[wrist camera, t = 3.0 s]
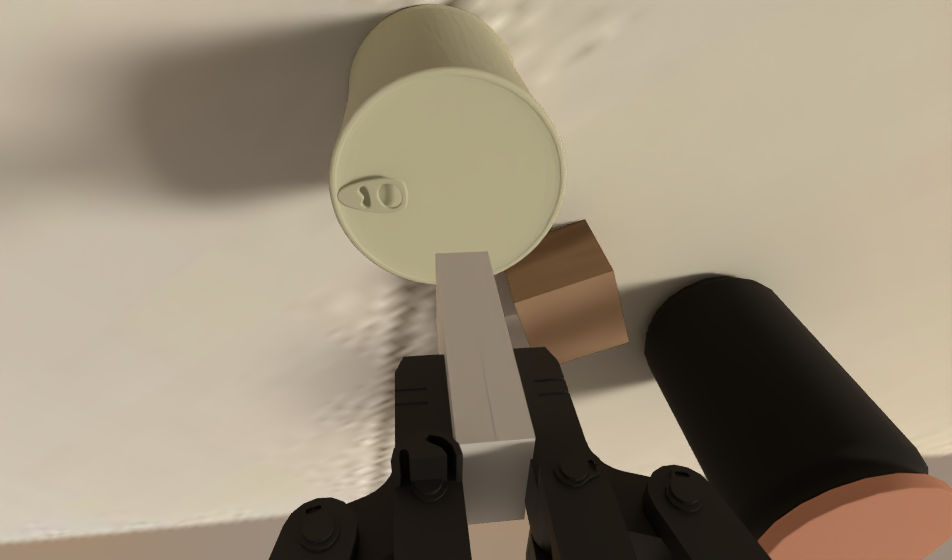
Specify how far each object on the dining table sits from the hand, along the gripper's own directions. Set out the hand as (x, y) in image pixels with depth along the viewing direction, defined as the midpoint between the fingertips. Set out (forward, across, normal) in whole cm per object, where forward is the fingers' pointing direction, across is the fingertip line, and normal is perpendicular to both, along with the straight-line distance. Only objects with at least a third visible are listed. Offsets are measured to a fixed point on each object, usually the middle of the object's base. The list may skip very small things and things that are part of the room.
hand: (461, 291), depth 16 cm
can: (+18, 0, 0) cm, 18 cm away
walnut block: (+18, +8, -12) cm, 23 cm away
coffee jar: (+18, +21, -18) cm, 33 cm away
